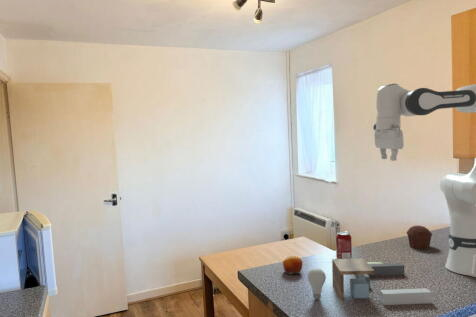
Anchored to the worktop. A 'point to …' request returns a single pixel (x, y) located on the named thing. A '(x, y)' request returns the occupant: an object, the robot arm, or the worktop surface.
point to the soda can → (343, 245)
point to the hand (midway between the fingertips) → (388, 159)
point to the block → (359, 288)
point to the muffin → (419, 237)
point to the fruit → (292, 265)
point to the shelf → (347, 272)
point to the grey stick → (405, 296)
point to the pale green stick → (374, 262)
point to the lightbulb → (316, 281)
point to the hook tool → (383, 270)
